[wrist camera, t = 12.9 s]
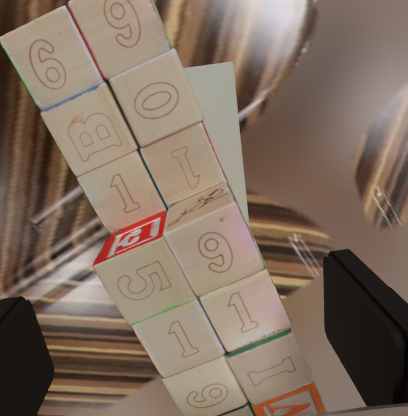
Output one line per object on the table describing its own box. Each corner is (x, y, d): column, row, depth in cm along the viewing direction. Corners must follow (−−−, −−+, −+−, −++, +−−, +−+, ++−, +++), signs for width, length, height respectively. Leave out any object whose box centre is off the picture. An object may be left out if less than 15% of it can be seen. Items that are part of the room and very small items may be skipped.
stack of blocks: (73, 61, 22) (-63, 13, 10) (161, 19, 21) (126, -83, 10) (203, 319, 28) (212, 476, 16) (274, 292, 27) (337, 433, 16)
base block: (123, 81, 26) (111, 78, 22) (226, 67, 26) (232, 61, 22) (163, 286, 31) (159, 312, 28) (248, 275, 31) (256, 298, 28)
